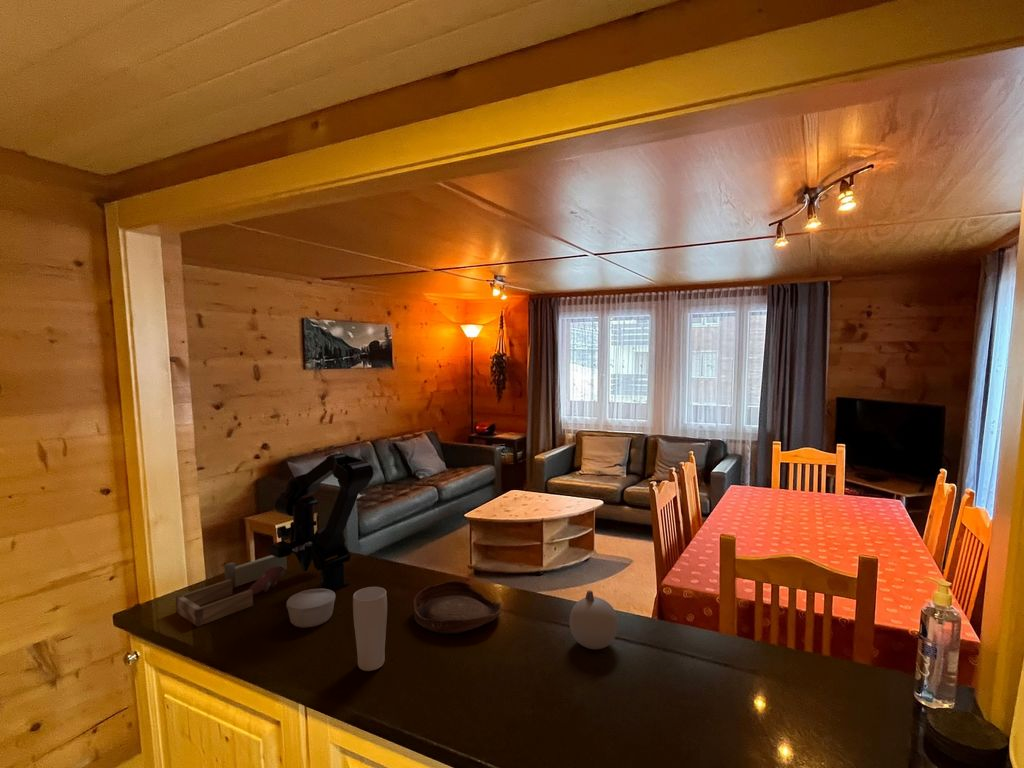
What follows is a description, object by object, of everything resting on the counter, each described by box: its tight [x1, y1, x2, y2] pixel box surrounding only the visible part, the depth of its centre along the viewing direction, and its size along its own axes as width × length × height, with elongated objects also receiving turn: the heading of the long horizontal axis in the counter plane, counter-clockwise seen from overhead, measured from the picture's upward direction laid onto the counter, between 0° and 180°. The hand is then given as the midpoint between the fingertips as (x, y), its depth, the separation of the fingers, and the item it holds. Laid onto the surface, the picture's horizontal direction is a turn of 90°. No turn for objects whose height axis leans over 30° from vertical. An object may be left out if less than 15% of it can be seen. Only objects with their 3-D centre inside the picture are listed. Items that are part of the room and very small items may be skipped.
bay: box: [175, 579, 254, 627], centre depth 131 cm, size 12×13×4 cm
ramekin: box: [285, 588, 336, 629], centre depth 125 cm, size 11×11×5 cm
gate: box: [223, 555, 288, 589], centre depth 148 cm, size 17×3×6 cm, turn 144°
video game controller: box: [247, 566, 287, 596], centre depth 142 cm, size 10×5×7 cm, turn 169°
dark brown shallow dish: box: [412, 580, 503, 635], centre depth 125 cm, size 22×20×5 cm
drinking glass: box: [352, 586, 388, 672], centre depth 105 cm, size 7×7×15 cm
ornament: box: [568, 589, 619, 650], centre depth 111 cm, size 10×10×12 cm
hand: (305, 570), depth 151 cm, fingers closed
